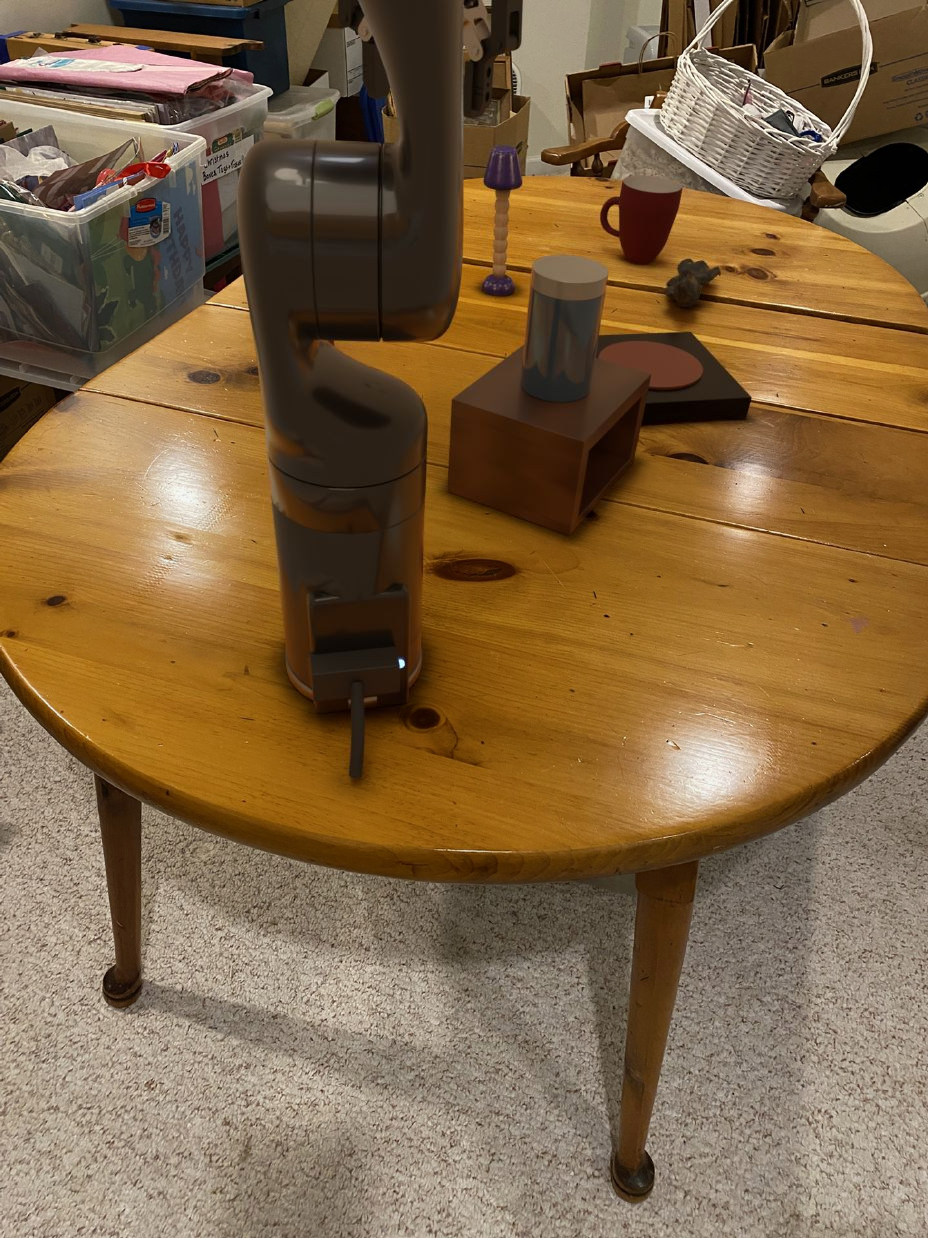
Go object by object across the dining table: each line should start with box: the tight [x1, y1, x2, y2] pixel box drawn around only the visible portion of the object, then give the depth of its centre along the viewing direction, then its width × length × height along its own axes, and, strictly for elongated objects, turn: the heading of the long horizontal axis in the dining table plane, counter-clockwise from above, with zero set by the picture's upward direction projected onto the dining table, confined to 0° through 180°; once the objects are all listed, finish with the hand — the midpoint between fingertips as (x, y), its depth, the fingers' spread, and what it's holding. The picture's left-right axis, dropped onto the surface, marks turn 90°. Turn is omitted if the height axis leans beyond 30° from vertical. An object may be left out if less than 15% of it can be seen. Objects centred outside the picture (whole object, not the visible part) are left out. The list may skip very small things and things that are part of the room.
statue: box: [664, 258, 722, 308], centre depth 116 cm, size 6×6×20 cm
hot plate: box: [595, 331, 753, 426], centre depth 98 cm, size 16×16×3 cm
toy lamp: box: [481, 144, 523, 297], centre depth 112 cm, size 5×5×17 cm
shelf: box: [446, 344, 651, 537], centre depth 82 cm, size 12×14×9 cm
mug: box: [599, 174, 684, 265], centre depth 126 cm, size 11×8×10 cm
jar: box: [520, 254, 609, 402], centre depth 75 cm, size 6×6×10 cm
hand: (425, 106), depth 71 cm, fingers open, 8 cm apart
